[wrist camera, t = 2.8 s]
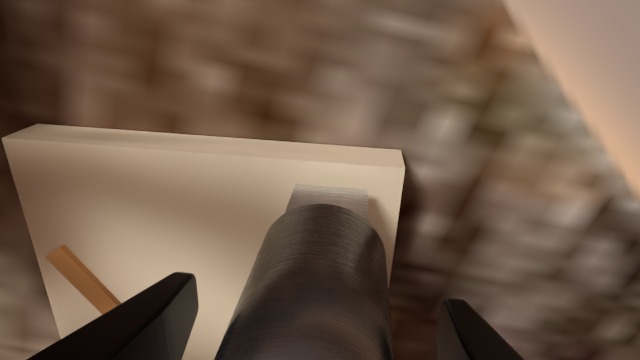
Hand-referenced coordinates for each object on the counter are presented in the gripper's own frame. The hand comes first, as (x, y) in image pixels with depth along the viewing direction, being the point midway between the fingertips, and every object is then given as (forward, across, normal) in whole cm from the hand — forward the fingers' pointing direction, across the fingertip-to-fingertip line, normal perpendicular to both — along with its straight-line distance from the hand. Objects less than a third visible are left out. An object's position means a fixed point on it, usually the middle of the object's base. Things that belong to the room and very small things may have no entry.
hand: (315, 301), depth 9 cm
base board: (+6, +4, +8) cm, 11 cm away
